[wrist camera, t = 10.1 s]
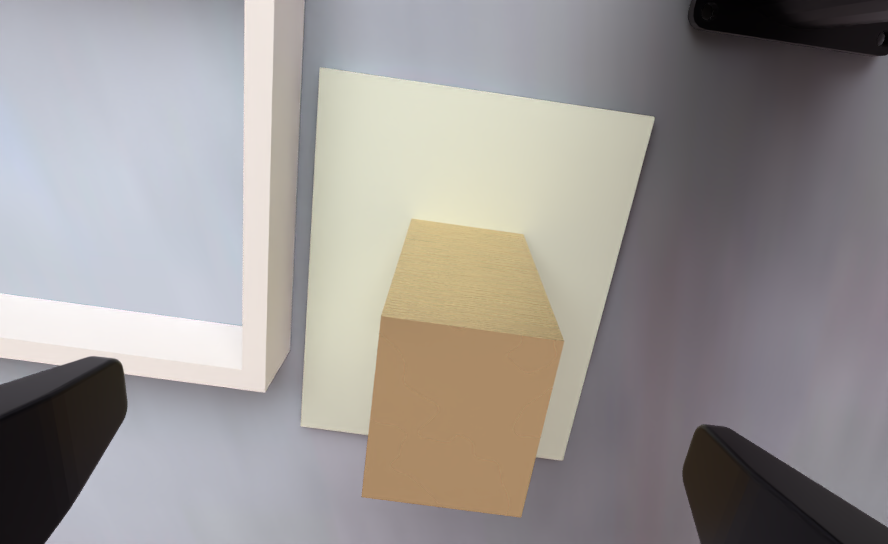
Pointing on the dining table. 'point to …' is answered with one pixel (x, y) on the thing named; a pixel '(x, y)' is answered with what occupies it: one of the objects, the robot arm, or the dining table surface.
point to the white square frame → (264, 249)
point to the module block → (461, 372)
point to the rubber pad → (457, 218)
